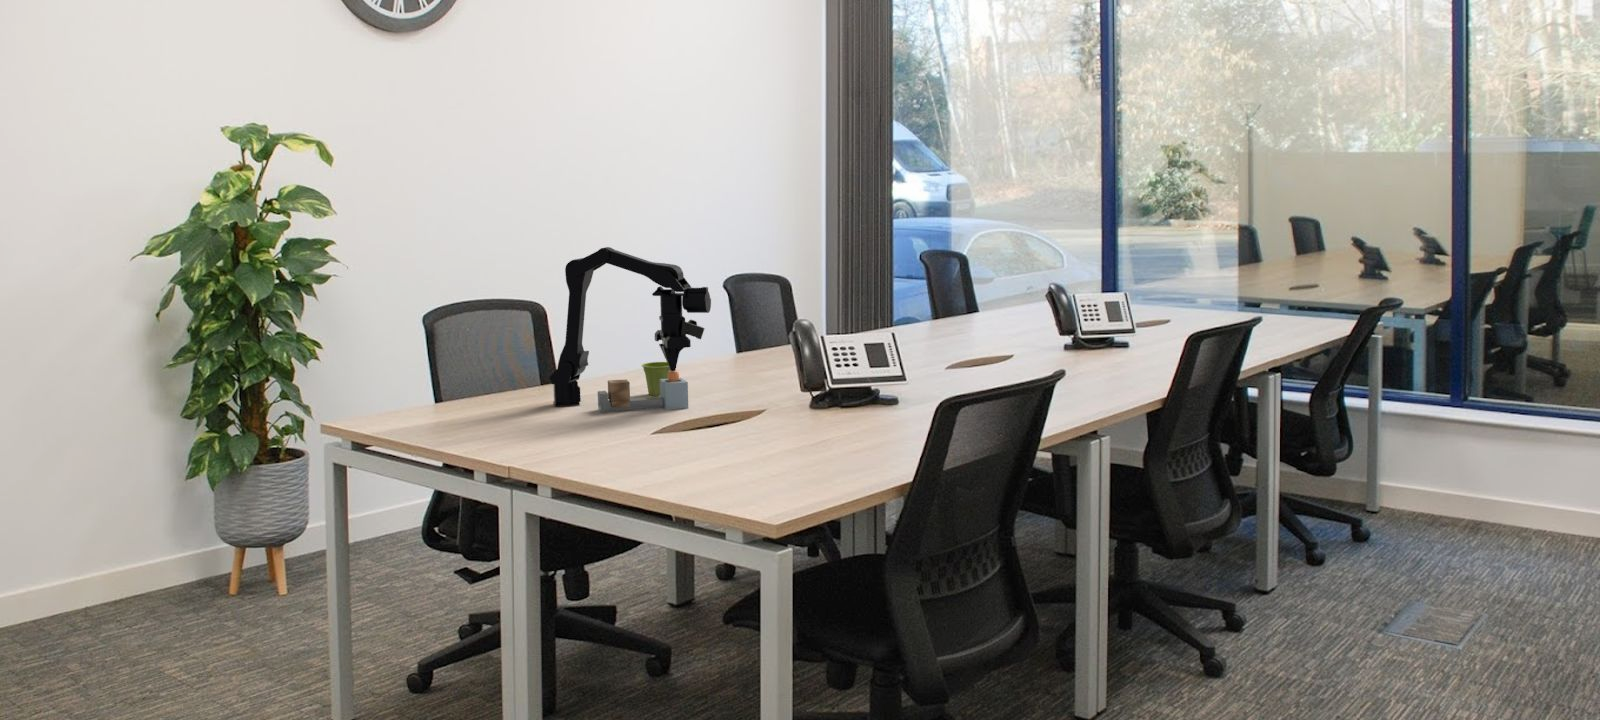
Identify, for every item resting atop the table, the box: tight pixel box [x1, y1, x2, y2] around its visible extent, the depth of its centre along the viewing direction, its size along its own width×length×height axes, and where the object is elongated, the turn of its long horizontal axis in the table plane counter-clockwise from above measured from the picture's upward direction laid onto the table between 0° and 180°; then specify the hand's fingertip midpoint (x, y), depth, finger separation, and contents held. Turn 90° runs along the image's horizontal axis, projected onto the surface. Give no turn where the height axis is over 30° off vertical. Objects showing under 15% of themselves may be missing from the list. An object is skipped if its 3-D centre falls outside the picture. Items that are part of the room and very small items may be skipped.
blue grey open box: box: [659, 377, 689, 411], centre depth 367 cm, size 6×8×7 cm
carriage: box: [607, 378, 631, 408], centre depth 363 cm, size 5×5×6 cm
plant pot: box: [641, 361, 671, 397], centre depth 387 cm, size 9×9×9 cm
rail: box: [597, 390, 665, 414], centre depth 364 cm, size 18×5×5 cm, turn 106°
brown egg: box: [668, 370, 680, 382], centre depth 366 cm, size 3×3×4 cm
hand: (673, 370), depth 366 cm, fingers closed
